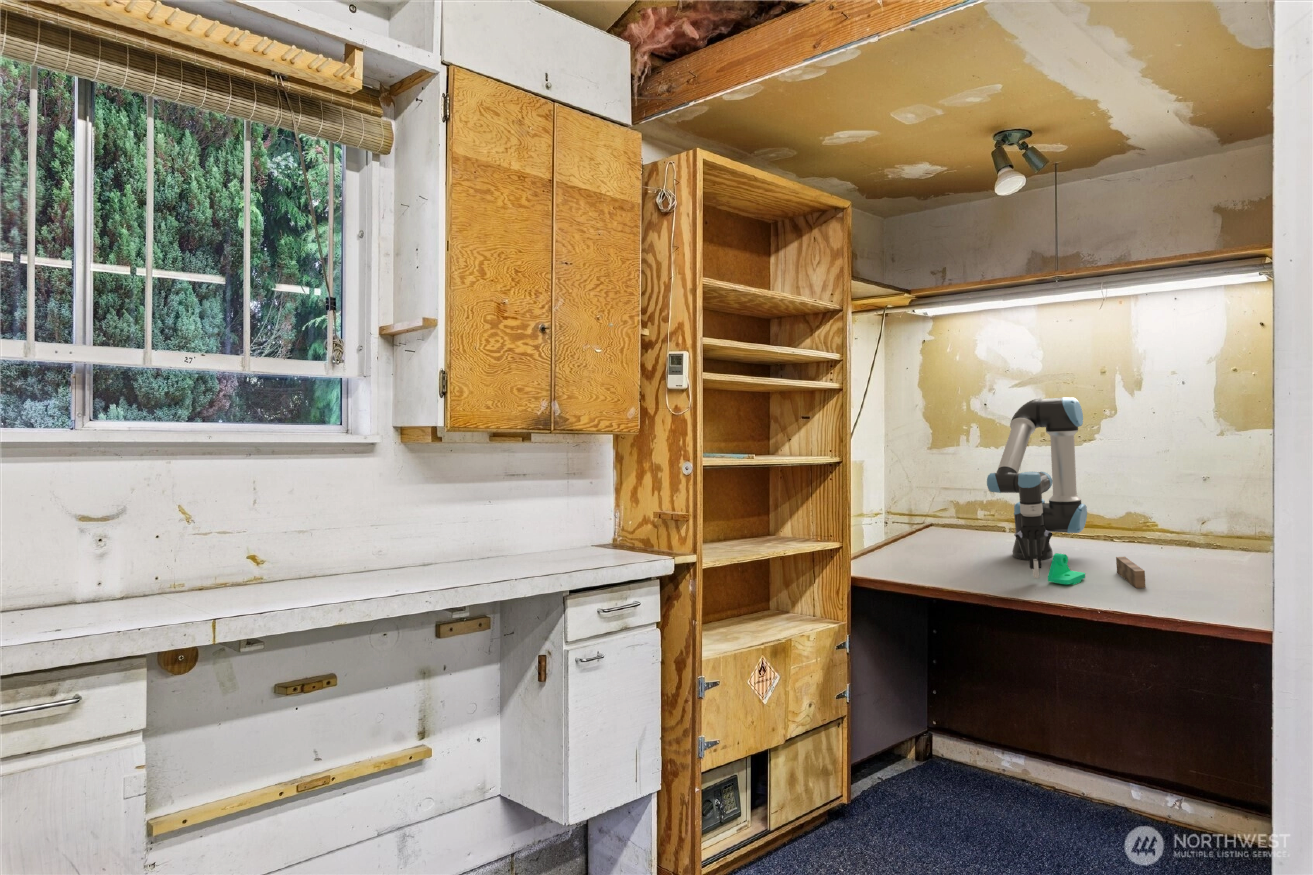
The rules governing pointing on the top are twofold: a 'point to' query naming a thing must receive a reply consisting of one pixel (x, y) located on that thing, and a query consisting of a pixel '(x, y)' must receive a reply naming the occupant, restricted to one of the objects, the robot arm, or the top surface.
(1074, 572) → the camera mount
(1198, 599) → the top surface
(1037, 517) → the robot arm
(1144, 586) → the block
